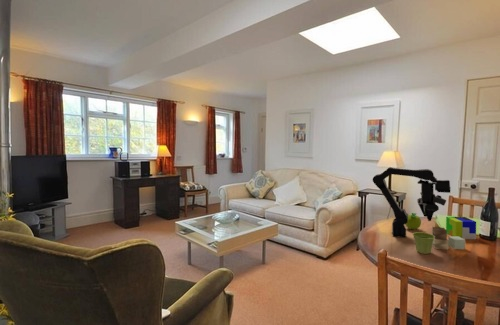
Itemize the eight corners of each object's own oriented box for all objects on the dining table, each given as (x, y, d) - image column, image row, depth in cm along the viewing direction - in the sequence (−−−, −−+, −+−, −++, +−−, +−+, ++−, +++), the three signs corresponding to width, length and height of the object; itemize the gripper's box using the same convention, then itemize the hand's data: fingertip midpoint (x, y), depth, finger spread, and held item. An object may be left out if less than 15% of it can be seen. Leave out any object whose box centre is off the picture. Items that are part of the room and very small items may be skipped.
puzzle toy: (476, 239, 145) (476, 221, 145) (455, 238, 147) (455, 221, 147) (465, 233, 155) (465, 217, 154) (446, 232, 157) (446, 216, 156)
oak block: (434, 248, 135) (434, 239, 135) (431, 244, 140) (431, 235, 140) (448, 250, 133) (448, 240, 132) (444, 245, 138) (444, 236, 138)
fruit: (422, 228, 166) (422, 213, 166) (419, 232, 160) (419, 216, 159) (405, 225, 173) (405, 211, 172) (402, 229, 166) (402, 214, 165)
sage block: (454, 249, 133) (454, 239, 133) (448, 245, 138) (448, 236, 138) (465, 249, 133) (465, 239, 132) (458, 245, 138) (458, 236, 137)
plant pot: (435, 257, 125) (435, 239, 125) (412, 253, 130) (412, 236, 130) (434, 250, 133) (434, 233, 133) (412, 247, 138) (412, 231, 138)
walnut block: (435, 239, 135) (435, 229, 135) (432, 236, 140) (432, 226, 139) (446, 240, 133) (446, 230, 133) (443, 236, 138) (443, 227, 137)
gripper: (450, 195, 135) (450, 224, 135) (439, 189, 152) (439, 215, 153) (425, 194, 139) (425, 223, 140) (417, 188, 156) (417, 214, 157)
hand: (427, 218), depth 147 cm, fingers open, 9 cm apart
